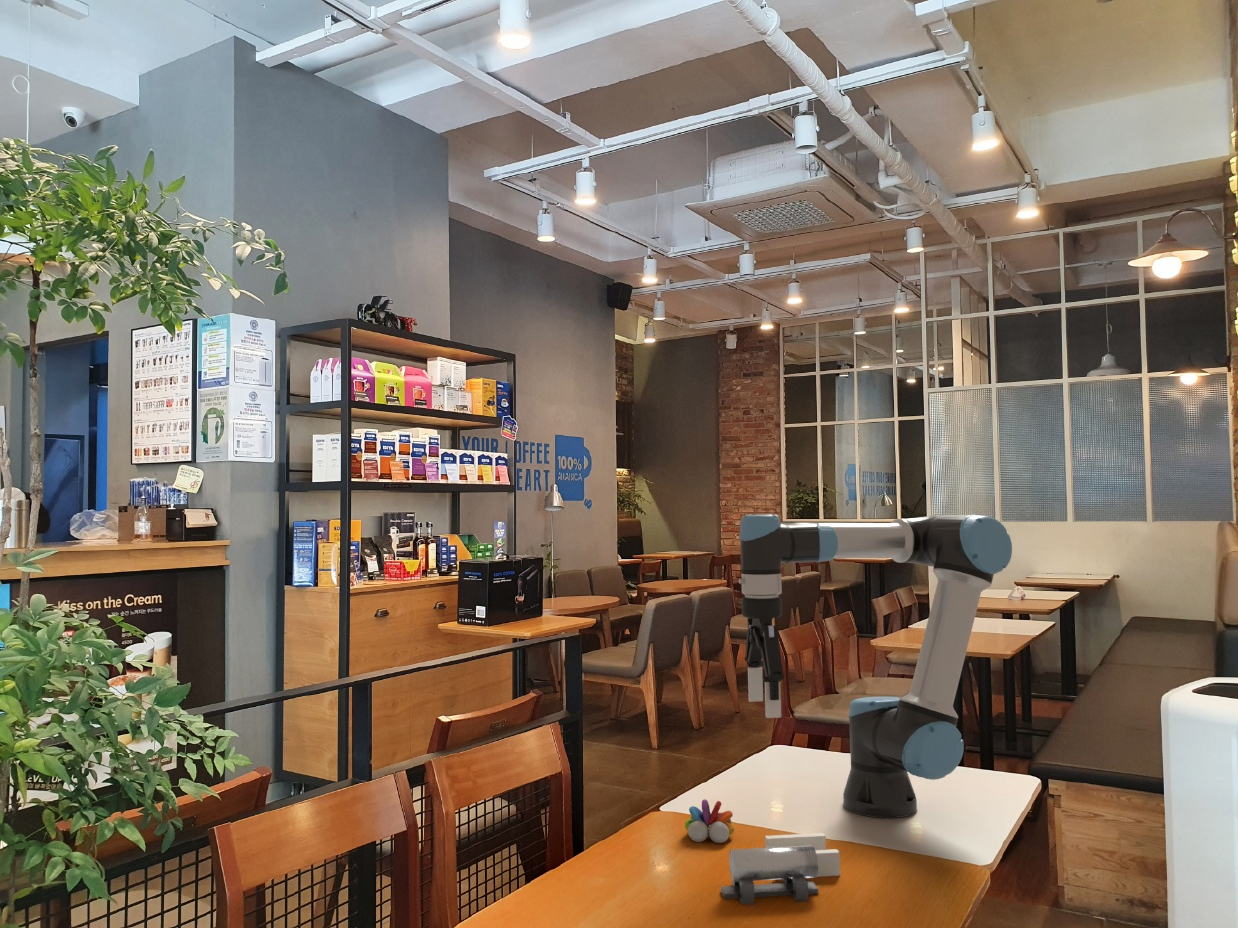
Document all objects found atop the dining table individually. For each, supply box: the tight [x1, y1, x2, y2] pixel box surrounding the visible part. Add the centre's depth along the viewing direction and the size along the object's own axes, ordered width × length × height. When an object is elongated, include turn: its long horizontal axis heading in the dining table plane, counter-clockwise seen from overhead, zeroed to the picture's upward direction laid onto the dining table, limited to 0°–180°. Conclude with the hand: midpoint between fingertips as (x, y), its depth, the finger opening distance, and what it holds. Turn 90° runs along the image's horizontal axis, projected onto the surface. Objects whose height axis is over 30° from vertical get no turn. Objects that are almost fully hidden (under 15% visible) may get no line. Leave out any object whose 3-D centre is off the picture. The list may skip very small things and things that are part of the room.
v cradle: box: [720, 876, 819, 906], centre depth 154 cm, size 16×8×3 cm, turn 95°
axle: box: [728, 845, 818, 882], centre depth 155 cm, size 14×5×5 cm, turn 95°
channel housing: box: [764, 832, 841, 878], centre depth 165 cm, size 11×10×4 cm
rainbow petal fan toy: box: [684, 798, 735, 844], centre depth 181 cm, size 8×10×7 cm
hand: (764, 709), depth 173 cm, fingers open, 13 cm apart
